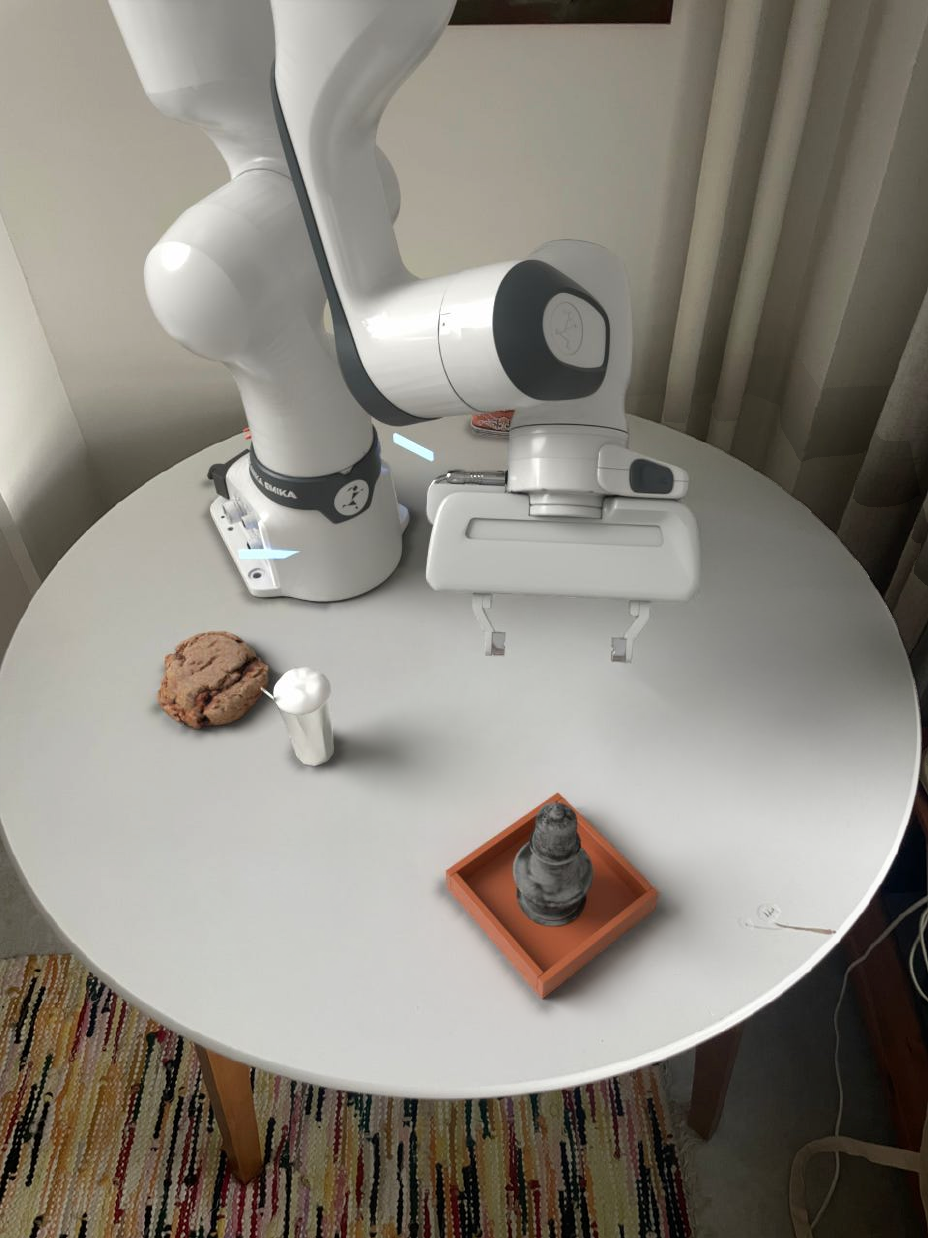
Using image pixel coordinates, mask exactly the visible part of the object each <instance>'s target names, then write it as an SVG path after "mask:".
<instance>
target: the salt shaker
mask: <svg viewBox="0 0 928 1238" xmlns="http://www.w3.org/2000/svg"><path fill="white" fill-rule="evenodd" d="M577 825H578V822H577V817H576V814H575V812H574V811H573V809H572V808H570V807H569V806H568V805H566V804H563V803H559V802H553V803H548V804H546V805H544V806H543V807H541V809H540V810H539V811H538V813H537V816H536V825H535V829H534V830H533V831H532V833H531V835H530V838H529V842H528V843H526V844H525V845H524V846H523V847H522V848H521V849H520V851H519V852H518V853H517V855H516V857H515V860H514V863H513V876H514V880H515V883H516V885H517V900H518V904H519V906H520V908H521V910H522V912H523V913H524V914H525V915H526V916H527V917H528V918H529V919H531V920H532V921H534V922H536V923H537V924H541V925H544V926H551V927H557V926H562V925H566V924H568V923H570V922H572V921H574V920H575V919H576V918H577V917H578V916H579V915H580V914H581V912H582V911H583V909H584V907H585V903H586V893H587V892H588V890H589V889H590V887H591V884H592V880H593V865H592V862H591V859H590V857H589V856H588V854H587V852H586V851H585V850H584V849H583V848H582V847H581V840H580V837H579V834H578V833H577Z"/></svg>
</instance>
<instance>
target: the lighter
mask: <svg viewBox="0 0 928 1238" xmlns="http://www.w3.org/2000/svg"><path fill="white" fill-rule="evenodd" d="M514 411H515V409H514V410H503V411H496V412H492V413H485V414H474V415H471V416H472V417H471V420H470V430H471V432H472V433H474V434H476V435H480V436H485V437H489V438H497V439H508V440H509V432H510V424H511V420H512V417H513V415H514Z"/></svg>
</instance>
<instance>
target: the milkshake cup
mask: <svg viewBox="0 0 928 1238" xmlns="http://www.w3.org/2000/svg"><path fill="white" fill-rule="evenodd" d="M260 687H261V686H260ZM261 690H262V691H264V694H265V695H267V696H268V697H269V698H270V699H272V700H273V701H274V702H275V704H276V706H277V709H278V712H279V714H280V716H281V718H282V720H283V723H284V726H285V729H286V732H287V734H288V737H289V739H290V742H291V745H292V748H293V751H294V753H295V755H296V757H297V759H298V760H299V761H301V763H302V765H307V766H312V767H316V766H319V765H322V764H325V763H327V762H328V761H329V760H330V759H331V757H332V756H333V755H335V754H334V753H335V750H334V748H335V747H334V730H333V717H332V687H331V683H330V680H329V679H328V677H327V676H326V675H325V674H324V673H323V672H321V671H318V670H317V669H314V668H313V667H308V666H307V667H299V668H292V669H289V670H288V671H286V672H285V673H284V674H282V676H281V677H280V678H279V680H277V682H276V683H275V685H274V687H273V694H271V693H270V692H268V690H267V689H266V690H265V689H264V688H263V687H261Z"/></svg>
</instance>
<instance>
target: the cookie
mask: <svg viewBox="0 0 928 1238" xmlns="http://www.w3.org/2000/svg"><path fill="white" fill-rule="evenodd" d="M174 651H175V652H174V653H173V654H172V653H167V654H166V655H165V656H164V667H165V670H166V672H165V673H164V676H163V677H162V679H161V682H160V688H159V690H158V692H157V702H158V705H159V706H160V707H161V708H162V711H163V712H165V713H166V714H167V715H168V716H169V717H170V718H171V719H173V720H174V721H175V722H177V723H180V724H183V725H184V726H185V725H188V727H192V729H194V730H197V729H201V728H202V727H203V726H204V727H205V726H210V727H211V725H212V726H216V727H217V726H221V725H226V724H230V723H232V722H236V721H238V719H240V718H243V715H244V714H245V713H247V712H248V711H249V710H250V709H251V708H252V707H253V706H254V705H255V704H256V703H257V702H258V700H259V699H260V697H261V696H264V695H265V692H264V691H262V690H261V687H263V688H264V689H265V690H266V691H267V685H268V683H269V671H270V669H269V665H268V664H266V663H264V662H263V661H262V658H261V657H259V656H258V657H257V654H256V652H255V651H254V649H253V648H252V647H251V646H249V645H248V644H247V643H246V642H245V641H244V640H243V639H242V638H241V637H239V636H238V635H236V634H233V633H231V632H227V631H225V630H224V631H222V630H221V631H215V630H212V631H207V632H199V633H197V634H195V635H193V636H191V637H189V638H187V639H185V640H183V641H180V642H179V643H178V645H176V646H175V647H174ZM260 686H261V687H260Z"/></svg>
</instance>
